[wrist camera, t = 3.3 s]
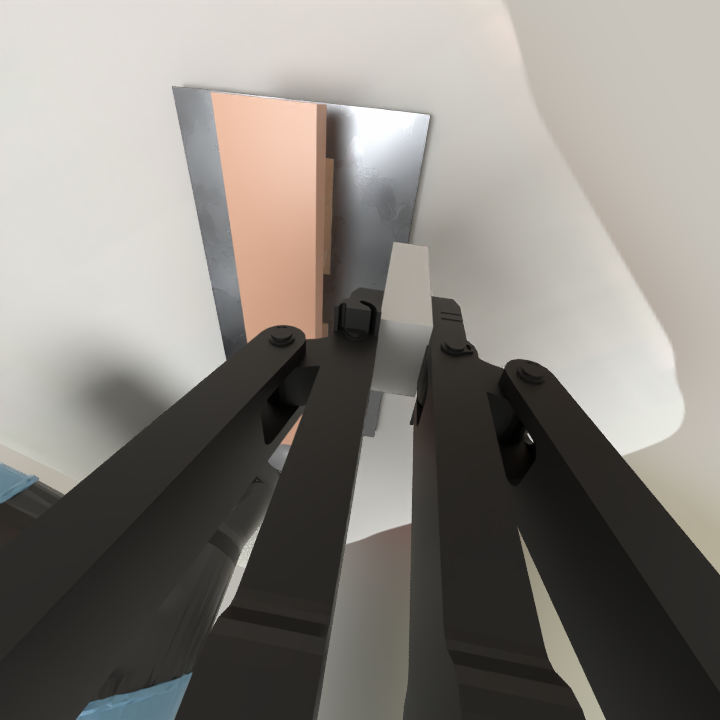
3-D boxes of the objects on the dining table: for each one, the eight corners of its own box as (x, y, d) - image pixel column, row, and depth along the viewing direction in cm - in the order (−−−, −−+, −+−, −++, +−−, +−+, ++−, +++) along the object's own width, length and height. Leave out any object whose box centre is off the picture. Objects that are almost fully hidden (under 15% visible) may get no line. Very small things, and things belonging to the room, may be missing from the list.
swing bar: (320, 453, 31) (313, 477, 29) (273, 445, 31) (264, 469, 29) (328, 104, 15) (314, 103, 13) (234, 94, 15) (207, 91, 13)
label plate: (374, 429, 34) (371, 459, 31) (241, 408, 35) (225, 436, 32) (429, 114, 18) (432, 115, 15) (182, 87, 19) (139, 83, 16)
